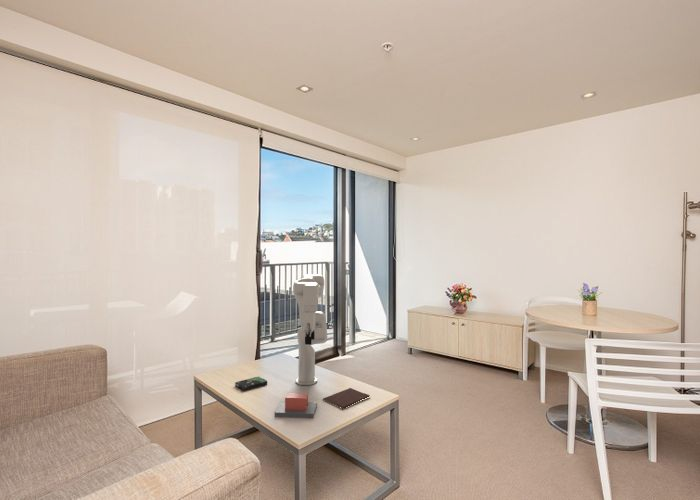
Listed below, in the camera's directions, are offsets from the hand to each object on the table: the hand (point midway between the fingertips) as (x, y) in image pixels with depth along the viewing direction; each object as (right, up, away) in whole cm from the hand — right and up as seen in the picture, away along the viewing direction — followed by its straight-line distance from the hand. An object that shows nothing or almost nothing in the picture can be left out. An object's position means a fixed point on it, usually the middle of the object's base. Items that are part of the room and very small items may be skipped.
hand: (309, 341), depth 179 cm
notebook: (+19, -31, +3) cm, 37 cm away
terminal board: (-5, -30, -12) cm, 33 cm away
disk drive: (-35, -31, +20) cm, 51 cm away
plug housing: (-5, -28, -12) cm, 31 cm away
